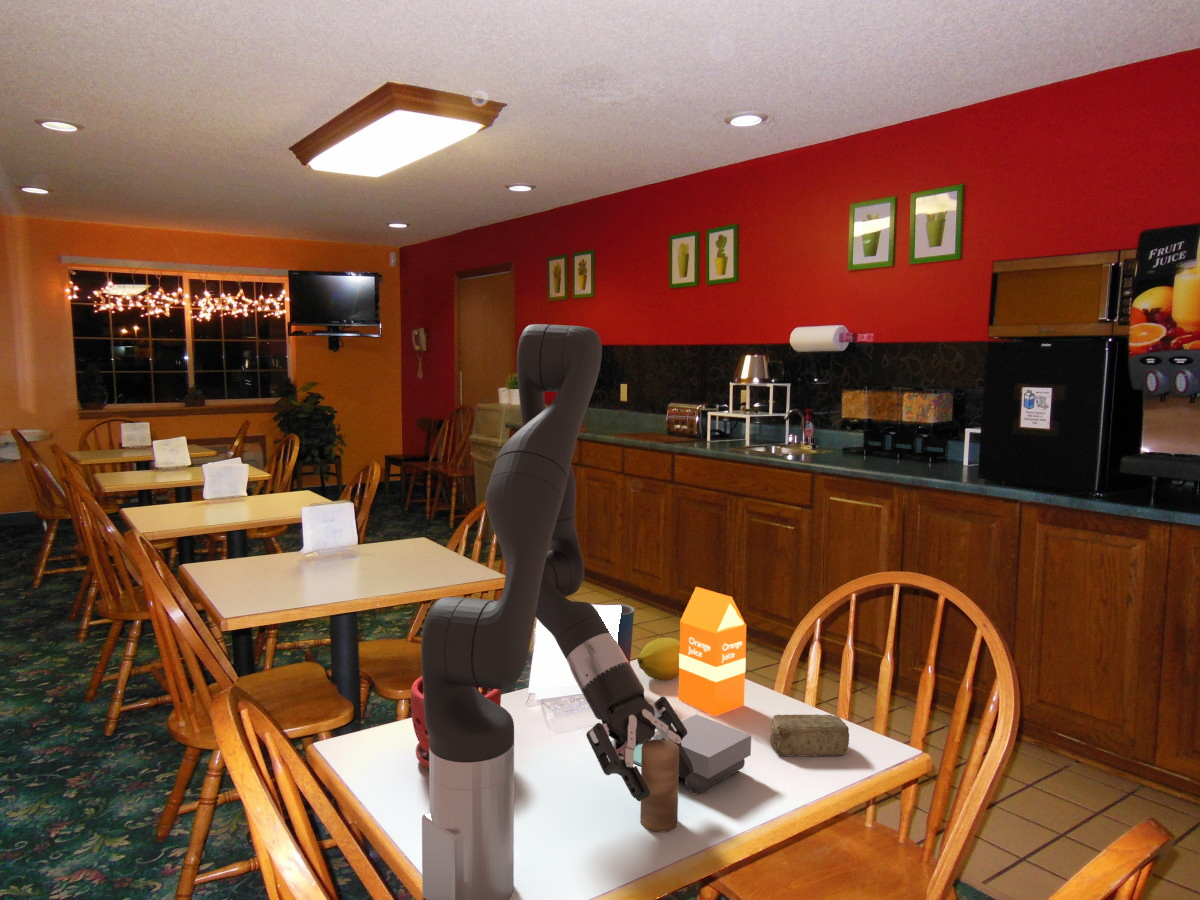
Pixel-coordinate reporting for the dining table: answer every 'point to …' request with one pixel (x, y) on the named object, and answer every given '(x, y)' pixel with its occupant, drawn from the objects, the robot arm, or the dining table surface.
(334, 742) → the dining table surface
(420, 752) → the plant pot
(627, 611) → the cup
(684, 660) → the orange juice
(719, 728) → the grey roller platform
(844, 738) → the stone block
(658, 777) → the roller
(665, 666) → the lemon
